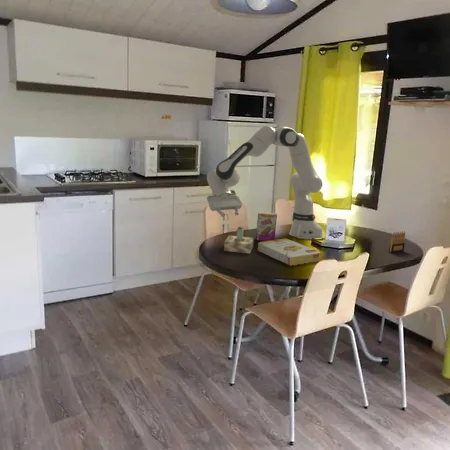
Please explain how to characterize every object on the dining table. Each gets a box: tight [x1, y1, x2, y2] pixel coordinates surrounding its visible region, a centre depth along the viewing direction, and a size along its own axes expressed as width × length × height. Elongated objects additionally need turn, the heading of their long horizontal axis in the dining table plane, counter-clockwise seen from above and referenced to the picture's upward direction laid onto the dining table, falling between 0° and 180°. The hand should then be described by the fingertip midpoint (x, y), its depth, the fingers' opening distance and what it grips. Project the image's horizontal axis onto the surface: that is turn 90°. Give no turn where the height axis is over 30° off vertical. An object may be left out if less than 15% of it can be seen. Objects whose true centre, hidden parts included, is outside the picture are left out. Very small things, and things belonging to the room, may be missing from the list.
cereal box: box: [257, 237, 322, 267], centre depth 235 cm, size 20×6×28 cm
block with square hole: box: [223, 235, 255, 254], centre depth 243 cm, size 14×14×5 cm
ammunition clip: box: [388, 231, 406, 254], centre depth 255 cm, size 11×2×12 cm, turn 120°
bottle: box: [236, 226, 244, 241], centre depth 242 cm, size 4×4×12 cm
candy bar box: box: [255, 211, 278, 242], centre depth 261 cm, size 11×5×16 cm, turn 84°
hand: (230, 215), depth 248 cm, fingers open, 8 cm apart
